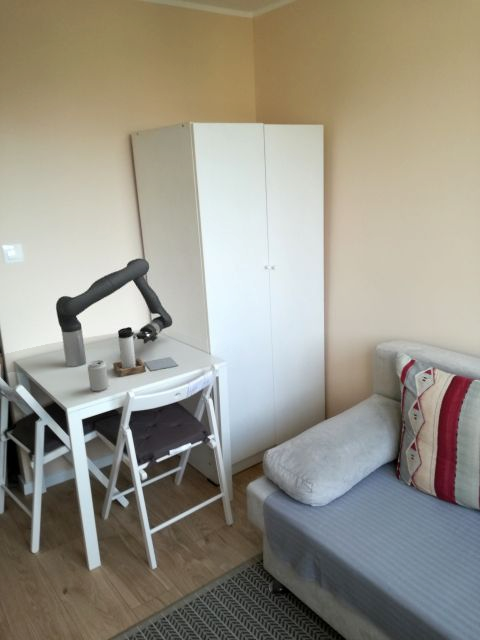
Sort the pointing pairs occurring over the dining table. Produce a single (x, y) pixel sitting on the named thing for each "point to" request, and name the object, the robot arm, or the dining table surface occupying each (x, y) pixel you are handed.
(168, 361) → the rubber mat
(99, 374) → the can
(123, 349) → the travel mug
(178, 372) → the dining table surface
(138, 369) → the frame
